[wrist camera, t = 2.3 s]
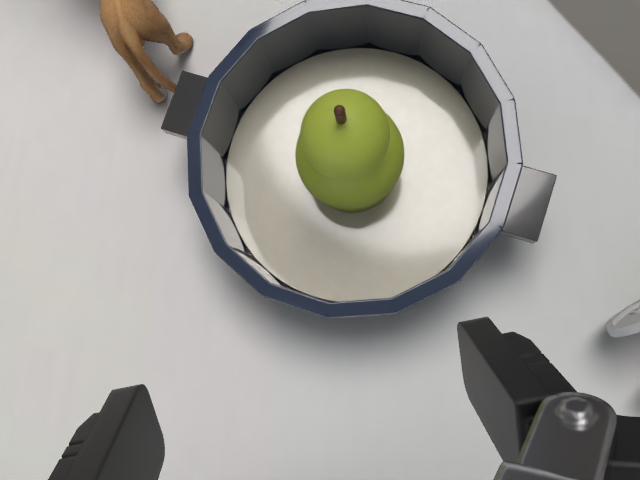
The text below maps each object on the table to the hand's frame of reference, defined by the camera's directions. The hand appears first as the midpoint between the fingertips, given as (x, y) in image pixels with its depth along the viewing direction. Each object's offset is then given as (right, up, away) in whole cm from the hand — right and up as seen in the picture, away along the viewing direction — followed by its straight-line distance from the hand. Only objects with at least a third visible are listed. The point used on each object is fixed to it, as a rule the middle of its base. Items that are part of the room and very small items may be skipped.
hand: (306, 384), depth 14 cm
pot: (+2, +8, +20) cm, 22 cm away
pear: (+2, +8, +20) cm, 21 cm away
